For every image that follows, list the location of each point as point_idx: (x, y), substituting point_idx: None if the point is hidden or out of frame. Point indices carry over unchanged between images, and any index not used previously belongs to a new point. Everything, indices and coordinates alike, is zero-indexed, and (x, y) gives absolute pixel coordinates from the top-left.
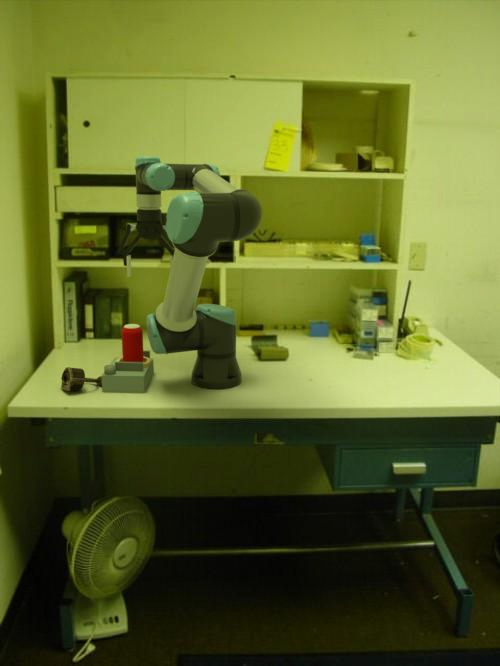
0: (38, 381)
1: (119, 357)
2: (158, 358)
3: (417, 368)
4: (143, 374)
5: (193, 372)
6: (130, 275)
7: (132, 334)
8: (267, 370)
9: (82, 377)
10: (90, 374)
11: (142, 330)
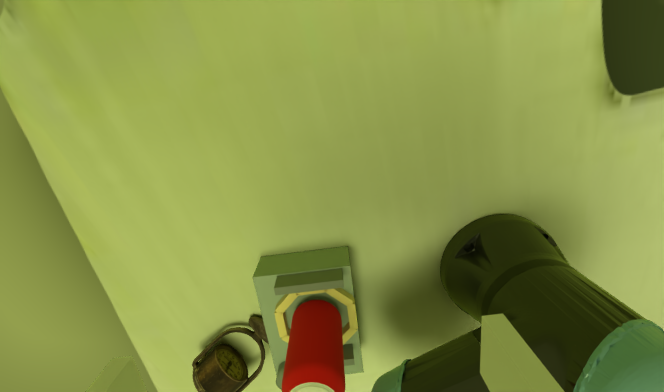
0: (135, 328)
1: (264, 276)
2: (325, 133)
3: None
4: (360, 364)
5: (454, 299)
6: (140, 386)
7: None
8: (620, 175)
9: (242, 383)
10: (213, 276)
11: (343, 380)
